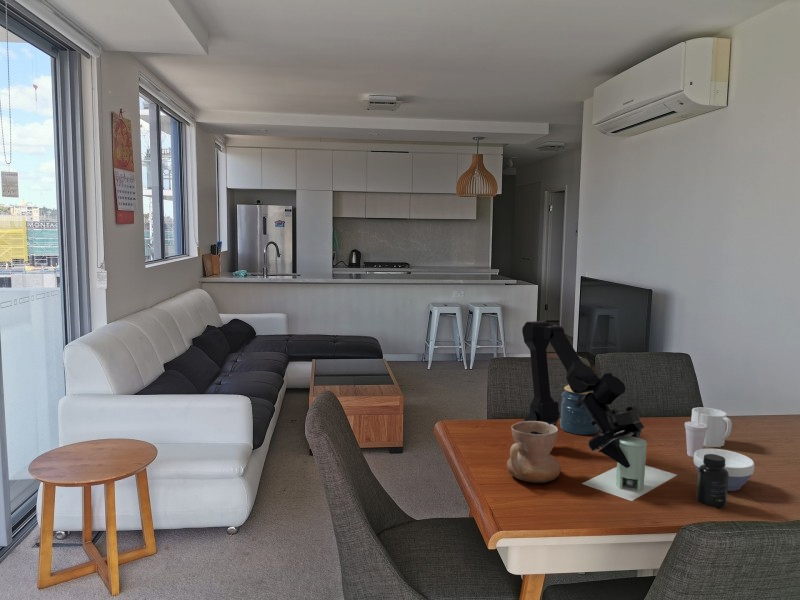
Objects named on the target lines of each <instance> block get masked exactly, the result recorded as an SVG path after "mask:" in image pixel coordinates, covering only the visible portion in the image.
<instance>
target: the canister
mask: <svg viewBox="0 0 800 600" xmlns="http://www.w3.org/2000/svg"><path fill="white" fill-rule="evenodd" d="M563 389H564V391H563V392H561V397H562V400H561V401H562V402H560V418H559V419H560V420H559V425H560V429H561V430H562V431H564V432H567V433H569V434H573V435H579V436H580V435H582V436H589V435H595V434H598V432H599V428H598V427H597V425H595V426H593V425H592V422H593V419H592V418H591V416H590V415H589V413H588V412H587V410H586V409H585V407H584V406H582V407H579V408H578V407H577V403H578V398H579V397H582V396H585V395H586V394H587V393H590V392H587V393H574V392H573V391H572V390H571V388H570V386H569V384H568V385H565V386H564V387H563Z"/></svg>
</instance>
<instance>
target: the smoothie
mask: <svg viewBox="0 0 800 600" xmlns="http://www.w3.org/2000/svg"><path fill="white" fill-rule="evenodd" d="M699 420H700V411H698V420H697V422H691V421H685V422H684V427H685V437H686V438H685V439H686V440H685V441H686V452H687V456H688V457H690V458H694V453H695V452H696V451H697V450H700V449H704V446H703V443H704V439H705V434H706V430H707V428H708V426H707V425H706V424H703V423H700V422H699Z"/></svg>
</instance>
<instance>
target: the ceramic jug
mask: <svg viewBox="0 0 800 600" xmlns="http://www.w3.org/2000/svg"><path fill="white" fill-rule="evenodd" d="M510 430H511V433H512V438H513V440H514V443H513V444H511V447H510V449H509V458H508V459H507V461H506V469H507V471H508V473H510V476H512V477H514V478H516V479H518V480H519V481H524V482H527V483H533V484H543V483H545V484H546V483H549V482H552V481H554V480H556V479H557V478H559V476H560V474H561V471H562V466H561V463H560V462H559V460H558V459H557V458H556V457H554V456H553V455H551V454H550V453H551V452H552V450H553V448H554V446H555V444H556V441H557V438H558V433H559V430H558V427H557V425H556V426H554V425H552V424H551V425H549V424H548V423H545V422H540V421H527V422H526V421H524V422H523V421H518V422H516V423H514V424H513V425H511V429H510ZM533 431H534V432H538V433H541V434H537V435H535V434H531V433H530V432H533Z"/></svg>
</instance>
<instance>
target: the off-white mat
mask: <svg viewBox="0 0 800 600" xmlns="http://www.w3.org/2000/svg"><path fill="white" fill-rule="evenodd" d="M616 474H617V466H616V467H613V468H611V469H609V470H607V471H605V472H603V473H601V474H598V475H597V476H594V477H593V478H589V480H586V481H585V482H582V483H581V484H582V485H584V486H588V487H589V488H593V489H596V490H598V491H601V492H604V493H607V494H610V495H612V496H616V497H619V498H622V499H625V500H627V501H631V502H633V501H635V500H636V499H638V498H640V497H641V496H644V495H645V494H647V493H649V492H651V491H652V490H654V489H656V488H657V487H659V486H661V485H663V484H664V483H666V482H668V481H670V480H672V479H673V478H675V477H677V476H678V474H676V473H673V472H669V471H665V470H662V469H658V468H656V467H653V466H648V465H646V464H645V476H644V490H643V491H640V492H639V491H637V487H638V485H636V484H635V486H633V487H628V486H626V485H625V483H622V489H619V488H618V487H617V486H616Z"/></svg>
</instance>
